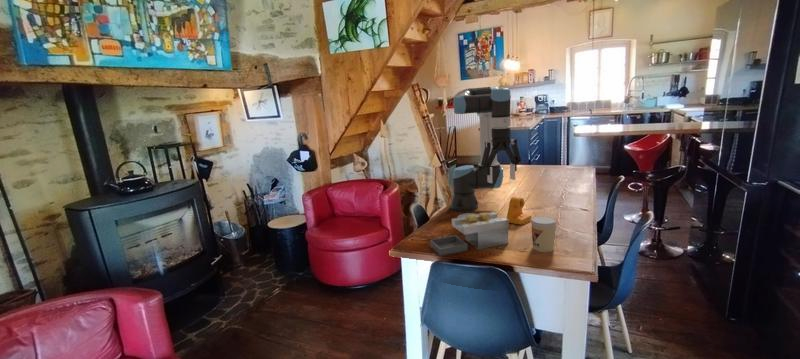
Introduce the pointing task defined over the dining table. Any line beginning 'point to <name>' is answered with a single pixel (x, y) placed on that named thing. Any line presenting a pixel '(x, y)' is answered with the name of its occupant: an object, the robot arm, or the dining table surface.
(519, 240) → the dining table surface
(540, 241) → the coffee cup
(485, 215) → the tan cube
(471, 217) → the chip
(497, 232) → the rail block
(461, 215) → the bowl
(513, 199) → the bracket
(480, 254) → the dining table surface
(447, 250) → the tray
